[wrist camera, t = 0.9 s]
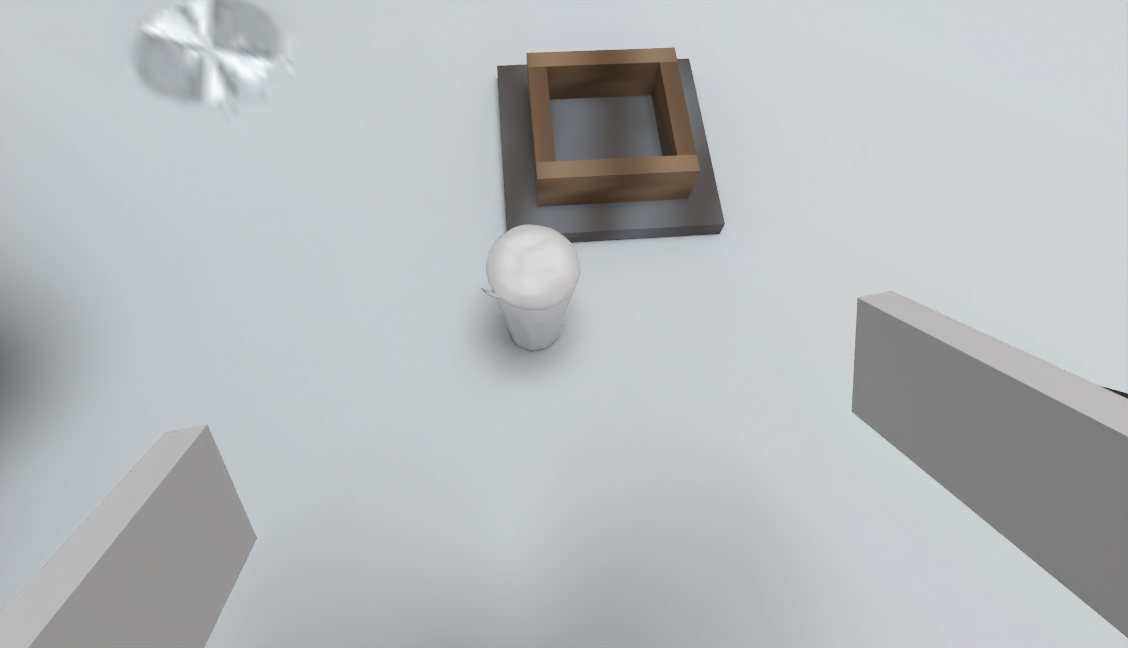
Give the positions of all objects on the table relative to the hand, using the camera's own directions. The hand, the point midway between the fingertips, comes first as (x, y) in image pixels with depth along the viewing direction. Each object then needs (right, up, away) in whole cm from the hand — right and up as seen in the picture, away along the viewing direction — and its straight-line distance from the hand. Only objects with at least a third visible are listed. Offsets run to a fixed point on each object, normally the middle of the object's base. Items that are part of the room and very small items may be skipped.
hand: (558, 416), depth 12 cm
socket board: (+3, +14, +29) cm, 32 cm away
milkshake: (-2, +1, +24) cm, 24 cm away
